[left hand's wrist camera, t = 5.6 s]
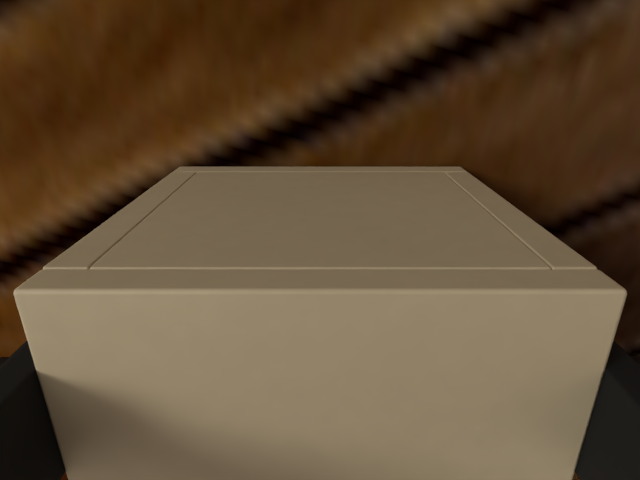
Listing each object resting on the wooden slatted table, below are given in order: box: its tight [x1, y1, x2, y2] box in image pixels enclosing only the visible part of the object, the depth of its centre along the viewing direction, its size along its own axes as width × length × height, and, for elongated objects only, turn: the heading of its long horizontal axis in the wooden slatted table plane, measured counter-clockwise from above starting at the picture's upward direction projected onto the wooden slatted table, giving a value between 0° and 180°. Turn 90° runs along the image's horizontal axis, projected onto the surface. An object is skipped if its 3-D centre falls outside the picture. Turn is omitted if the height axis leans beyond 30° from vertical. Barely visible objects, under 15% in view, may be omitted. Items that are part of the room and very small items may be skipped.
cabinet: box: [14, 167, 627, 480], centre depth 16 cm, size 17×11×10 cm, turn 0°
